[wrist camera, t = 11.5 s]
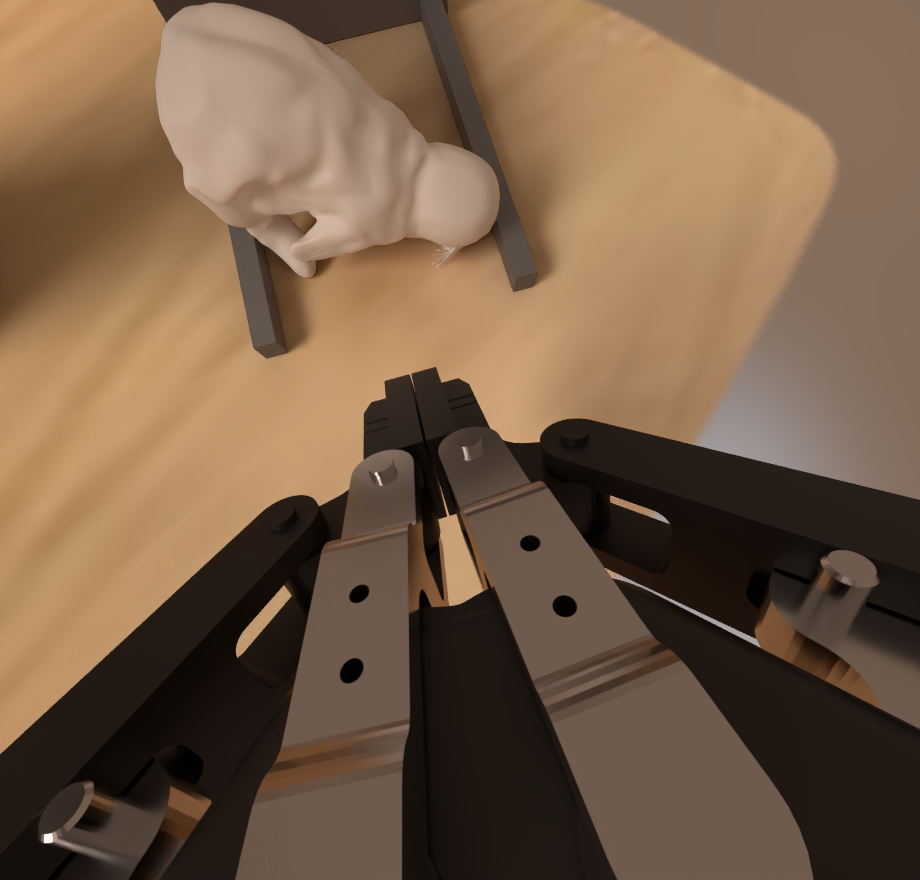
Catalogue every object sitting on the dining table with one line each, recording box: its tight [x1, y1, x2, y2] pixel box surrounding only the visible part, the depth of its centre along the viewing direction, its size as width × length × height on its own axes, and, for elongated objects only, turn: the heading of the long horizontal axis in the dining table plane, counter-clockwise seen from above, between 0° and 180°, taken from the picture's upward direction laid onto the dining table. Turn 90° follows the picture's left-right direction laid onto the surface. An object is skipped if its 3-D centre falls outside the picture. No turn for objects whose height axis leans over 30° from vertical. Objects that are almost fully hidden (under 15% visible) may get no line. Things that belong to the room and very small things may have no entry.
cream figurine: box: [155, 3, 500, 278], centre depth 17 cm, size 6×8×12 cm
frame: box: [153, 0, 538, 358], centre depth 16 cm, size 19×14×11 cm
